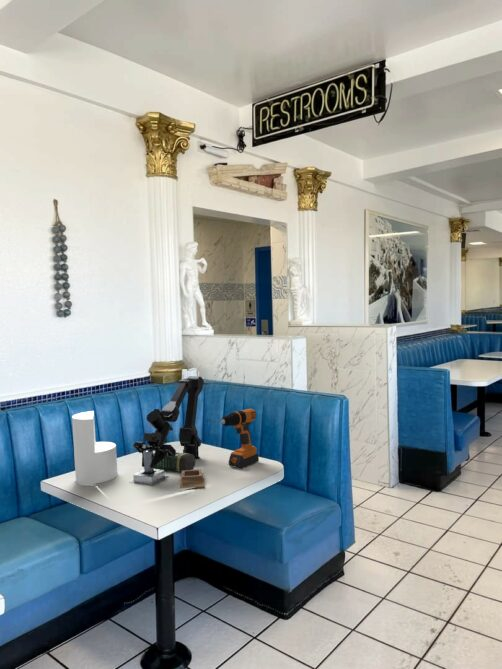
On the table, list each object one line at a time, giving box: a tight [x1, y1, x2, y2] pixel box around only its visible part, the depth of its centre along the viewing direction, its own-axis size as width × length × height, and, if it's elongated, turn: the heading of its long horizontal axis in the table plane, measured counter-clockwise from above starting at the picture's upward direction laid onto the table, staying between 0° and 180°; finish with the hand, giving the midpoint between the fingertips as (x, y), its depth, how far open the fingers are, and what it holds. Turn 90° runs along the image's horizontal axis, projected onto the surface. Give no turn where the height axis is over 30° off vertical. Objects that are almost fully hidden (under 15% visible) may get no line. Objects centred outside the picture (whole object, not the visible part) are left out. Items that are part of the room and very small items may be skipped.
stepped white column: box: [71, 410, 118, 487], centre depth 222 cm, size 17×17×28 cm
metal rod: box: [143, 450, 154, 475], centre depth 216 cm, size 4×4×12 cm
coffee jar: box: [153, 451, 196, 473], centre depth 230 cm, size 10×8×19 cm
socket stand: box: [128, 469, 170, 487], centre depth 216 cm, size 12×12×4 cm
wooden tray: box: [179, 468, 206, 491], centre depth 214 cm, size 16×10×4 cm, turn 7°
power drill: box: [220, 408, 260, 469], centre depth 232 cm, size 22×7×25 cm, turn 140°
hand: (146, 467), depth 215 cm, fingers closed on metal rod, 4 cm apart
